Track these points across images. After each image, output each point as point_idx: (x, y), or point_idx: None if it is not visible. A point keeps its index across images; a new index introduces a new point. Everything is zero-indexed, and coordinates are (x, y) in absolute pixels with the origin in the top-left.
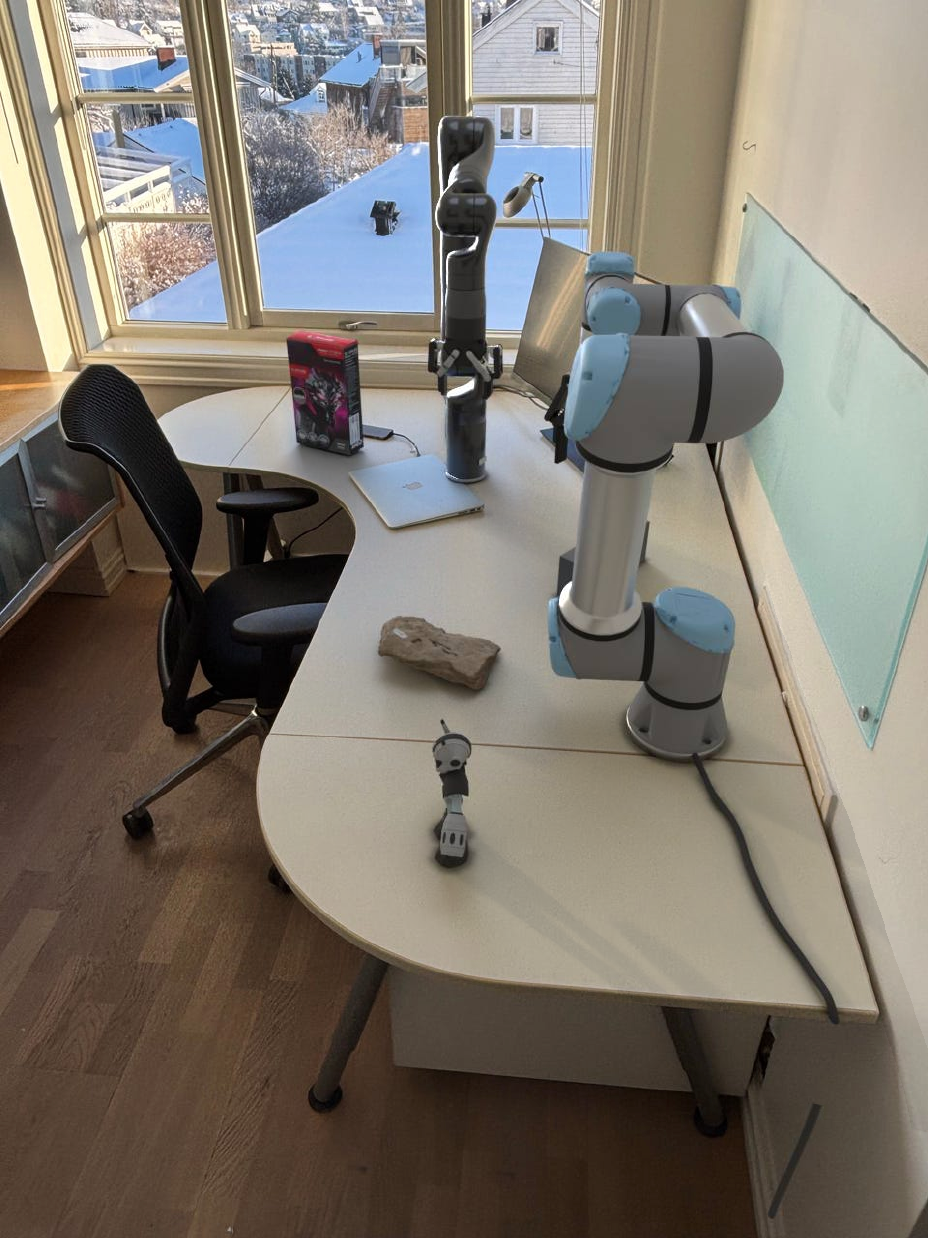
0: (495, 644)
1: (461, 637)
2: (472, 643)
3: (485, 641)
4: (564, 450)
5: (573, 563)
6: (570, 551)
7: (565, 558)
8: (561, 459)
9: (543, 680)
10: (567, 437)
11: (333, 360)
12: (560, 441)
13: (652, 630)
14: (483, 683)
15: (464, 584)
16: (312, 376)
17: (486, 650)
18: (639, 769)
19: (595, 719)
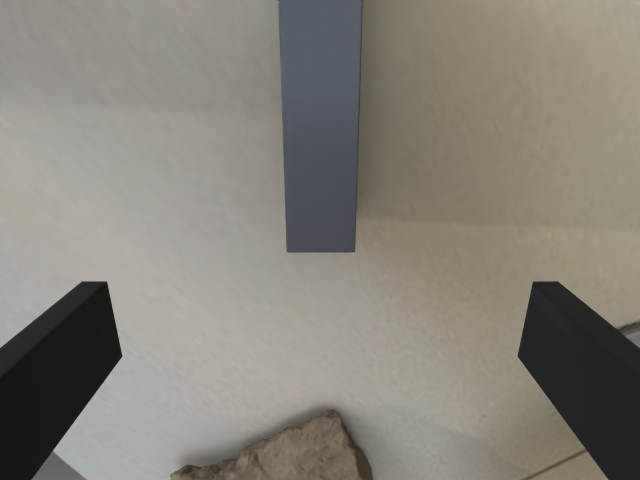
0: (332, 423)
1: (290, 460)
2: (312, 456)
3: (317, 431)
4: (74, 344)
5: (331, 251)
6: (292, 215)
7: (304, 250)
8: (107, 334)
9: (425, 407)
10: (4, 385)
11: None
12: (33, 455)
13: None
14: (369, 469)
15: (139, 299)
16: None
17: (339, 453)
18: None
19: (530, 424)
